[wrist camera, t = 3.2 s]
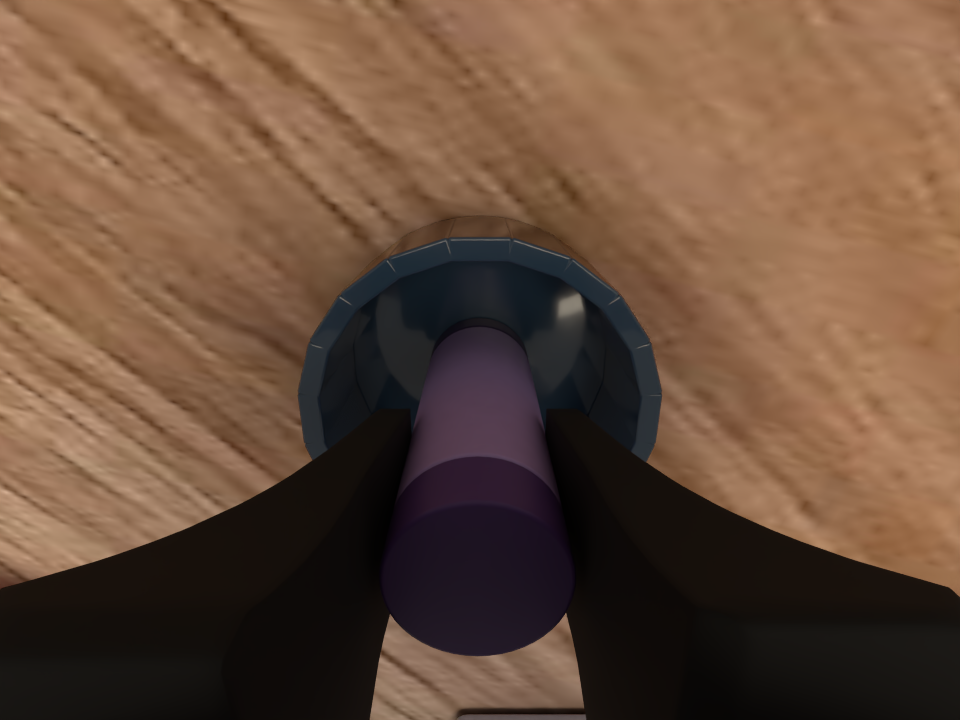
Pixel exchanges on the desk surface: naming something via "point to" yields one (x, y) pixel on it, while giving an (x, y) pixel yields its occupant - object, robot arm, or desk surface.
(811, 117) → the desk surface
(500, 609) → the glue stick
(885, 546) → the desk surface
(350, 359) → the desk cup
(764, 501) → the desk surface
